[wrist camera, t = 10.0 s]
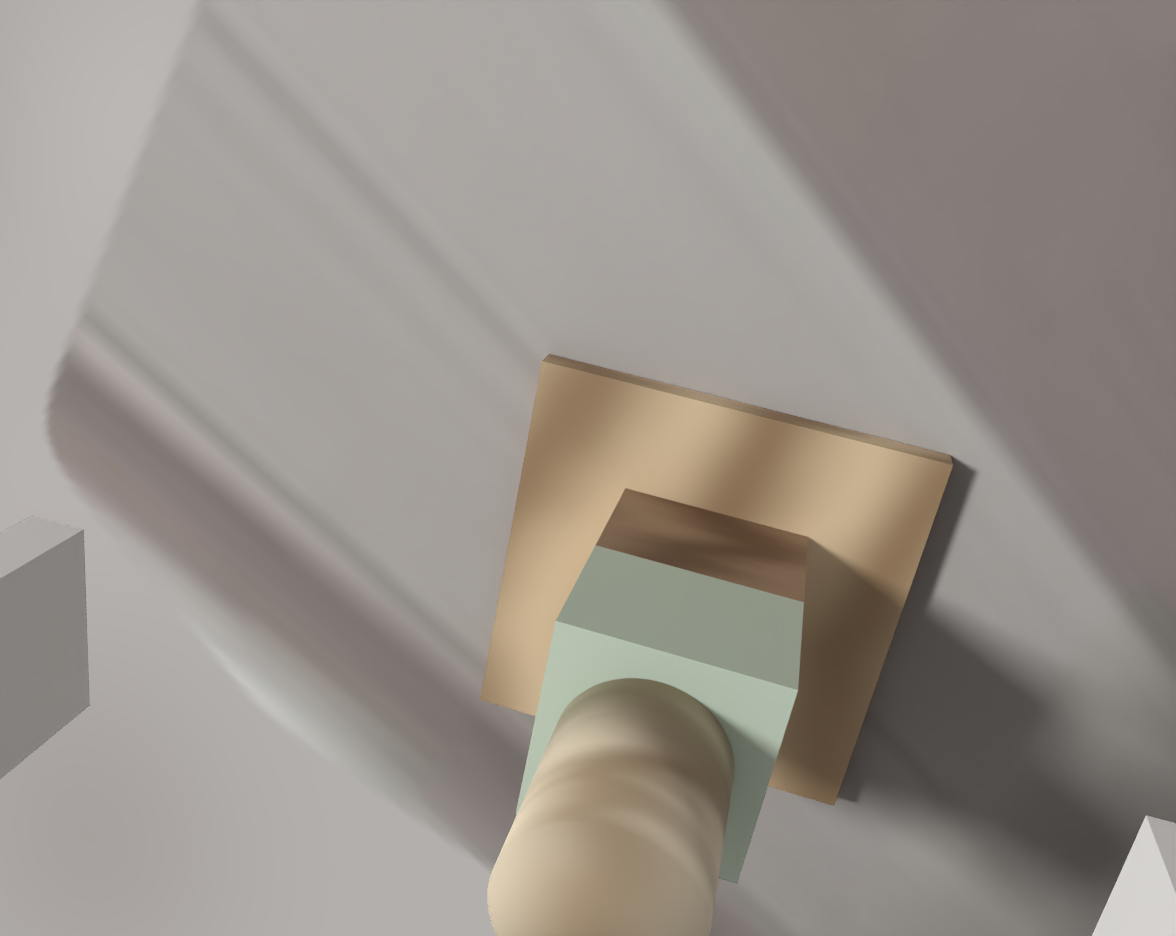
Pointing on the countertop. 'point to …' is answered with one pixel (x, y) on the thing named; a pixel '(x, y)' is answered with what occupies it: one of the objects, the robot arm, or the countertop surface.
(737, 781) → the sage mid block
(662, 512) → the walnut base block
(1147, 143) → the countertop surface
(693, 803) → the oak cylinder
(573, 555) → the light wood square board
